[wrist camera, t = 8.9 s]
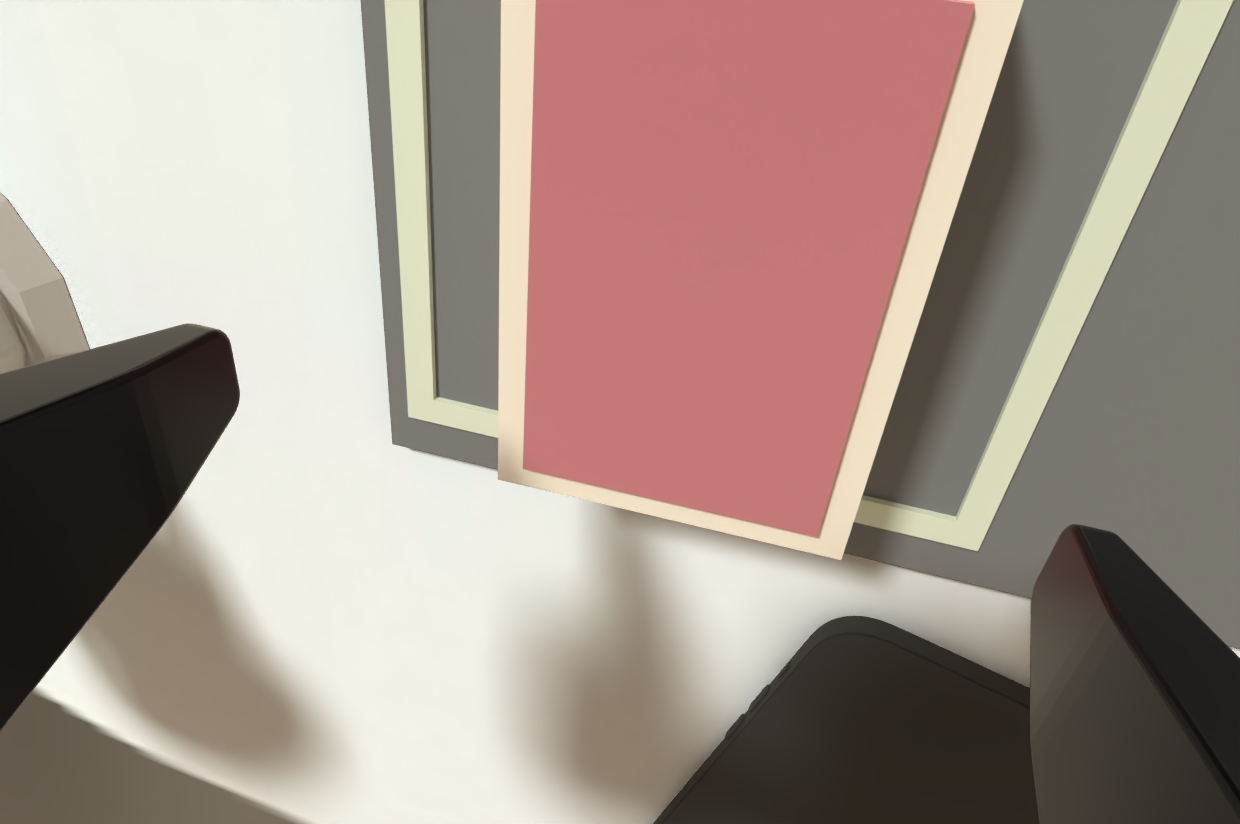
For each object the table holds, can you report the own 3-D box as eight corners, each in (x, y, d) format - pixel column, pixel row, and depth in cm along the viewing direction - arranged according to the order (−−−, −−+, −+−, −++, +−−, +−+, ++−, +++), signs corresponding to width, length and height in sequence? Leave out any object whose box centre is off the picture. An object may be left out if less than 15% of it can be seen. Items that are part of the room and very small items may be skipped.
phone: (607, 882, 29) (835, 616, 19) (614, 857, 29) (838, 589, 20) (815, 979, 29) (1141, 759, 19) (817, 952, 29) (1133, 728, 20)
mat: (2642, -161, 9) (2738, -159, 8) (1581, 716, 17) (1600, 741, 16) (347, -384, 12) (326, -390, 12) (400, 433, 20) (389, 447, 20)
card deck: (848, 453, 17) (840, 566, 15) (550, 388, 18) (494, 485, 15) (1007, -76, 12) (1040, -40, 9) (575, -129, 13) (497, -111, 10)
